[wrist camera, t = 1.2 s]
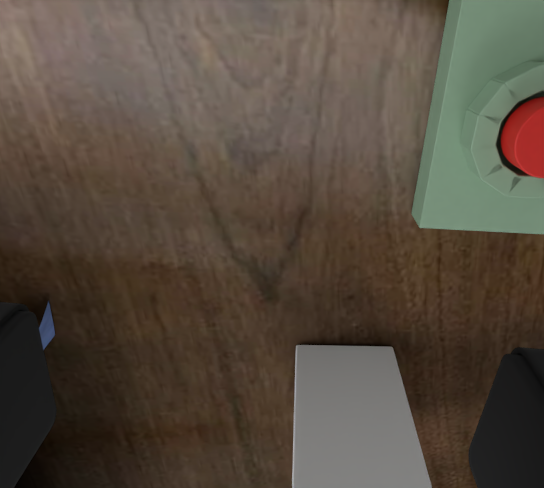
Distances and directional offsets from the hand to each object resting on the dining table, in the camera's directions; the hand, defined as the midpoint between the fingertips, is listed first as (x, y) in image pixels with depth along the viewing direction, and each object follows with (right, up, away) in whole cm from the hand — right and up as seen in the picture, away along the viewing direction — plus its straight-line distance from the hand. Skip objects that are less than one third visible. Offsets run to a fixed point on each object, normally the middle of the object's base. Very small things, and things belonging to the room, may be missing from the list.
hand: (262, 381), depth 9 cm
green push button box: (+14, +10, +16) cm, 23 cm away
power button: (+13, +8, +13) cm, 20 cm away
